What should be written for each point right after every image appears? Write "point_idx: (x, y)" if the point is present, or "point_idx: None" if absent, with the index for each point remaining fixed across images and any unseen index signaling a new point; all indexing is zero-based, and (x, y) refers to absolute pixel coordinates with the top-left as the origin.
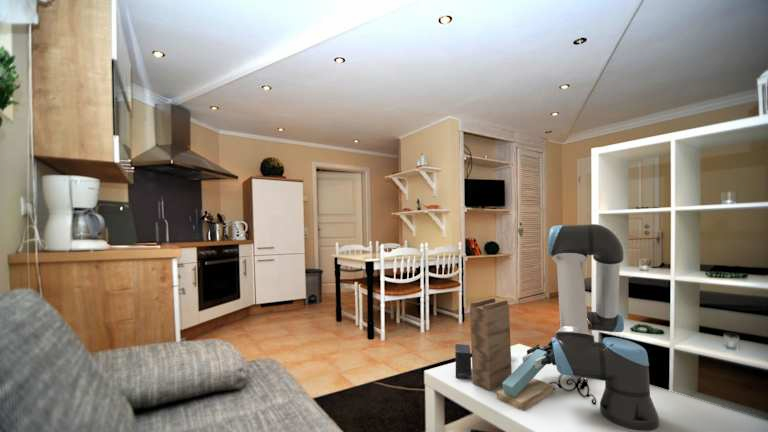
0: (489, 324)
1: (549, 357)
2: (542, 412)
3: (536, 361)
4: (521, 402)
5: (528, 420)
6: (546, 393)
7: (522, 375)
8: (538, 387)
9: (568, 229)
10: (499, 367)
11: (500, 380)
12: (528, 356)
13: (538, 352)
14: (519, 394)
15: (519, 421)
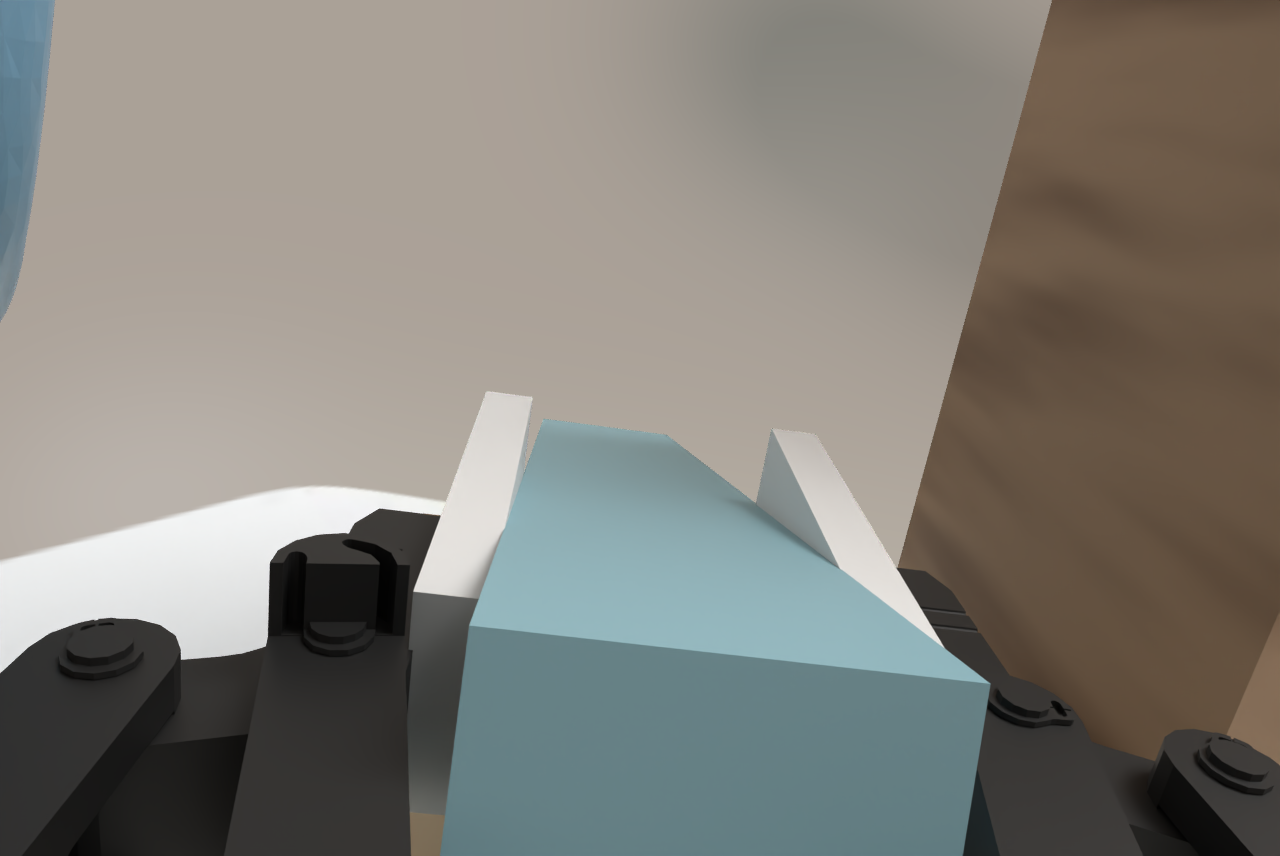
0: None
1: (280, 616)
2: (233, 627)
3: (485, 402)
4: (430, 514)
5: (315, 516)
6: None
7: (550, 438)
8: (421, 842)
9: None
10: (1006, 581)
11: None
12: (797, 511)
13: (740, 596)
14: None
15: (370, 491)
